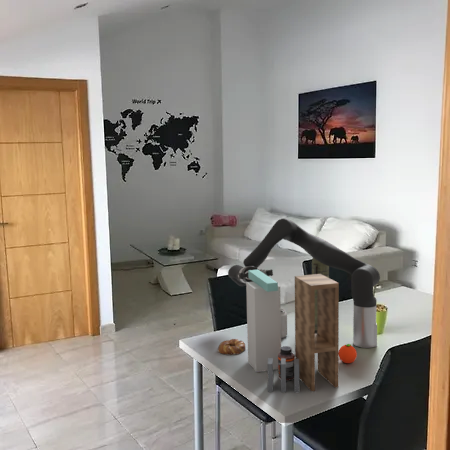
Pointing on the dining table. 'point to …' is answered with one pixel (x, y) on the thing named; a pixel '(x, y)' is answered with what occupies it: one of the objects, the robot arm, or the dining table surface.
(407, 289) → the dining table surface
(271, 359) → the domino
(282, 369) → the domino
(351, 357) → the clementine
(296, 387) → the domino
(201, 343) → the dining table surface
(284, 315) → the can
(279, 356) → the supplement bottle
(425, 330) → the dining table surface
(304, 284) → the stand
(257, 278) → the block
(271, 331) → the block
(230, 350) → the braided bread ring
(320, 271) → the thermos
